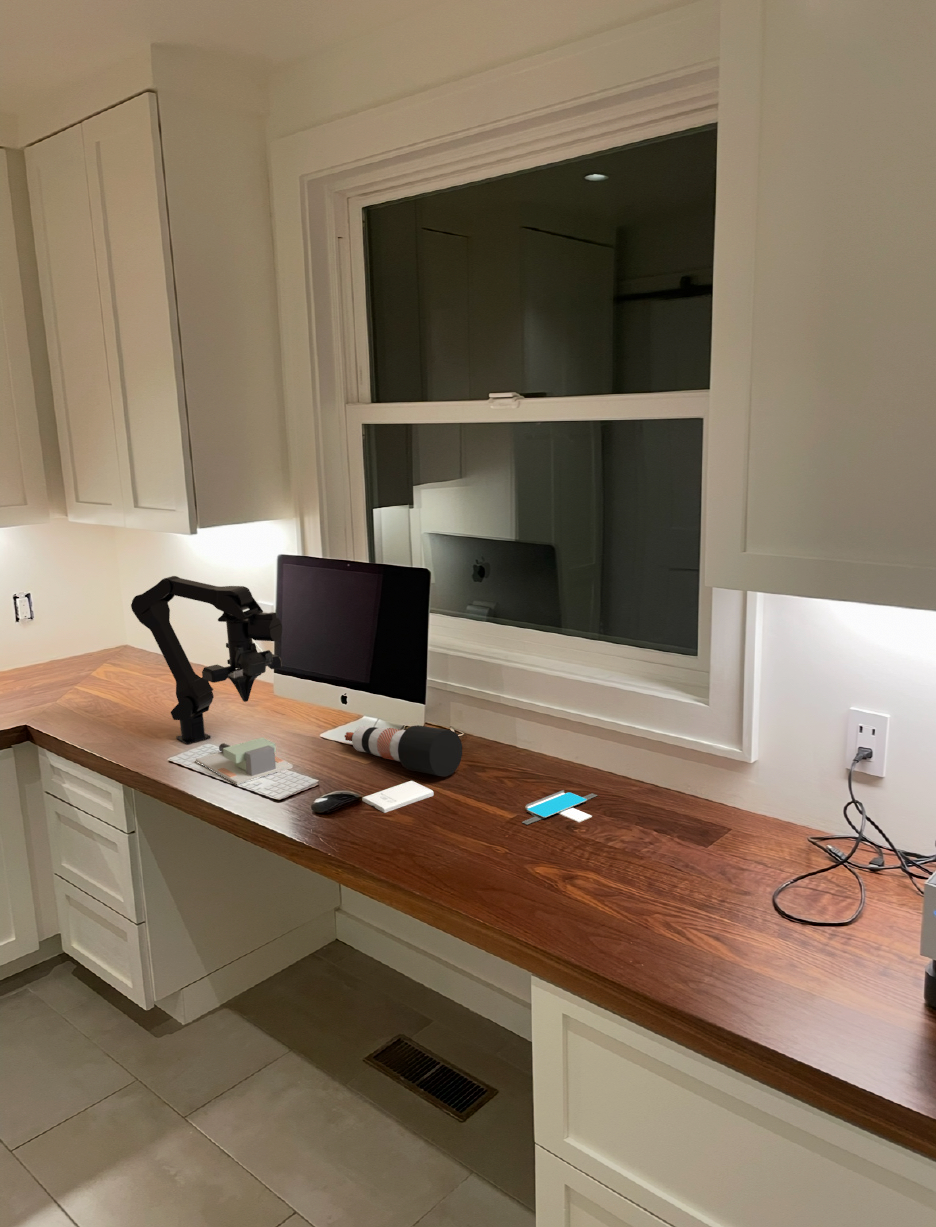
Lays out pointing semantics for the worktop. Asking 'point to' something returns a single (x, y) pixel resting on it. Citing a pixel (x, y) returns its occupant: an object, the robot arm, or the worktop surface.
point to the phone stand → (558, 807)
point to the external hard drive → (398, 796)
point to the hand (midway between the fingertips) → (245, 701)
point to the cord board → (235, 769)
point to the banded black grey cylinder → (412, 747)
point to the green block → (245, 750)
